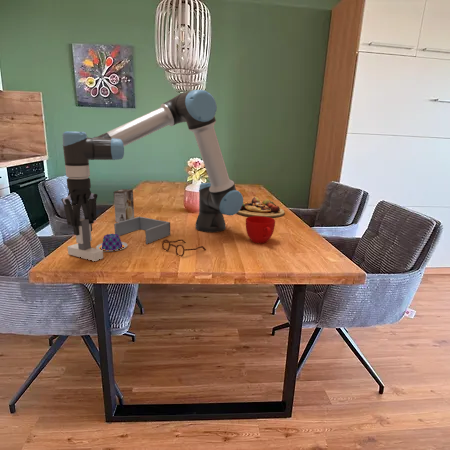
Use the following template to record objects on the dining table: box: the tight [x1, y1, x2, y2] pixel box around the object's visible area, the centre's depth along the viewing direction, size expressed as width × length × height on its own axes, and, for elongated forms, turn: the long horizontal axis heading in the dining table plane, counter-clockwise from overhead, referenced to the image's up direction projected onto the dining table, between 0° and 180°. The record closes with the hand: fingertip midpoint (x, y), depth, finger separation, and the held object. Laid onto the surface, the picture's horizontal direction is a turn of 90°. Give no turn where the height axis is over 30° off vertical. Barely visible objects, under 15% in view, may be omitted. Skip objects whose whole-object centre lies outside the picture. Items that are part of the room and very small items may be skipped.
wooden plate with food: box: [236, 196, 285, 219], centre depth 199 cm, size 32×32×8 cm
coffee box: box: [113, 188, 135, 223], centre depth 168 cm, size 9×6×16 cm
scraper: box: [67, 217, 104, 262], centre depth 117 cm, size 14×4×14 cm, turn 62°
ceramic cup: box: [245, 216, 276, 244], centre depth 141 cm, size 13×17×10 cm
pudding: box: [95, 233, 128, 252], centre depth 129 cm, size 12×12×5 cm
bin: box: [113, 216, 171, 245], centre depth 145 cm, size 19×16×6 cm
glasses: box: [161, 238, 207, 258], centre depth 129 cm, size 13×13×5 cm
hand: (84, 241), depth 117 cm, fingers closed on scraper, 3 cm apart
